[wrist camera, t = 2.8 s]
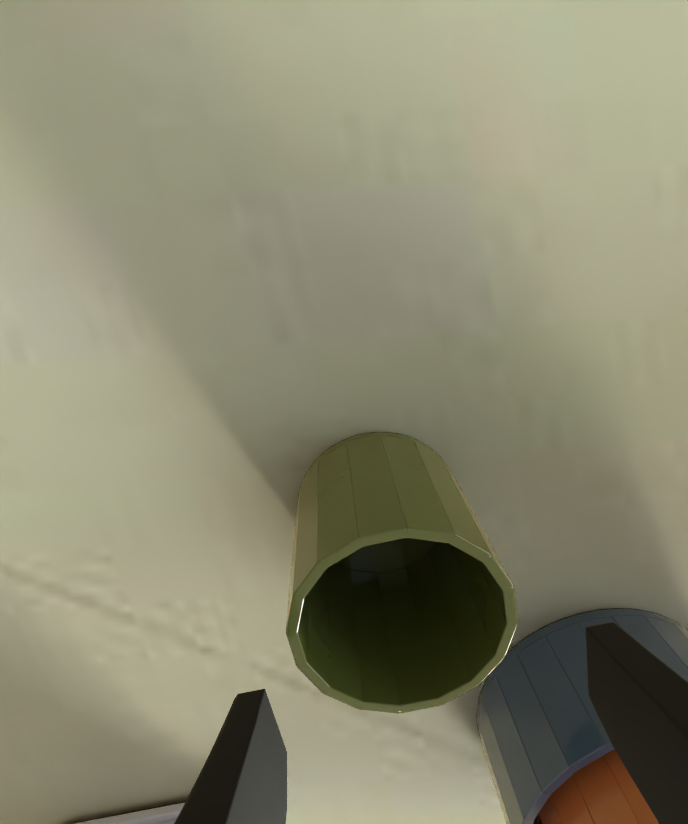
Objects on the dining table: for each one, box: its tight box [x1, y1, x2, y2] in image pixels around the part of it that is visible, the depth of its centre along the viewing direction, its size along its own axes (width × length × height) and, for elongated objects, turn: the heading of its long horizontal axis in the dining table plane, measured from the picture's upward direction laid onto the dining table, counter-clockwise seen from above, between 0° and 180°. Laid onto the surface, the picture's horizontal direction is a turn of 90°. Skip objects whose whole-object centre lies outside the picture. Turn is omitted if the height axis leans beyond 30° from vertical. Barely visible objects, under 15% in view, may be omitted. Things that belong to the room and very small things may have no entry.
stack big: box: [477, 609, 688, 824], centre depth 20 cm, size 10×10×5 cm
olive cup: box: [286, 432, 518, 713], centre depth 16 cm, size 6×6×6 cm
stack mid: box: [536, 750, 659, 824], centre depth 19 cm, size 8×8×8 cm
